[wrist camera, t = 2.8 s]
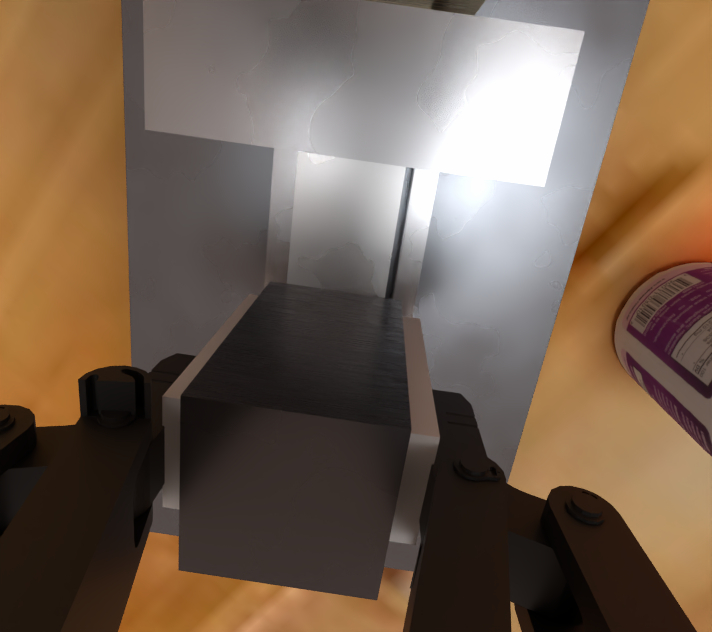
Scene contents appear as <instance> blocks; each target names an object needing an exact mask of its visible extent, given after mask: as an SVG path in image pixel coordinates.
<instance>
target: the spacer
mask: <svg viewBox="0 0 712 632" xmlns="http://www.w3.org/2000/svg"><path fill="white" fill-rule="evenodd" d="M367 1H374V2H381V3H388V4H395V5H402V6H409V7H417V8H424V9H431V10H438V11H445V12H452V13H459V14H466V15H475V14H476V12H477V11H478V10H479V8H480V7H481V6H482V4H483V3H484V2H485V0H367Z"/></svg>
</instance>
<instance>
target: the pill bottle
mask: <svg viewBox="0 0 712 632" xmlns="http://www.w3.org/2000/svg"><path fill="white" fill-rule="evenodd" d="M614 340H615V348H616V352H617V355H618V358H619V360H620V362H621V364H622V366H623V367H624V369H625V370H626V371H627V373H628V374H629V375H630V376H631V377H632V378H633V379H634V380H635V381H636V382H637V383H638V384H639V385H640V386H641V387H642V388H643V389H644V390H645V391H646V392H647V393H648V394H649V395H650V396H651V397H652V398H653V399H654V400H655V401H656V402H657V403H658V404H659V405H660V406H661V407H662V408H663V409H664V410H665V411H666V412H667V413H668V414H669V415H670V416H671V417H672V418H673V419H674V420H675V421H676V422H677V423H678V424H679V425H680V426H681V427H682V428H683V429H684V430H685V431H686V432H687V433H688V434H689V435H690V436H691V437H692V438H693V439H694V440H695V441H696V442H697V443H698V444H699V445H700V446H701V447H702V448H703V449H704V450H705V451H706V452H707V453H709V454H710V455H711V456H712V263H709V262H703V263H688V264H683V265H679V266H675V267H673V268H670V269H668V270H666V271H663V272H659V273H657V274H656V275H654V276H653V277H651V278H650V279H648V280H647V281H646V282H645V283H643V284H642V285H641V286H640V287H639V288H638V289H637V290H636V291H634V293H633V294H632V295H631V297H630V298H629V300H628V301H627V303H626V304H625V306H624V308H623V309H622V311H621V313H620V315H619V318H618V320H617V322H616V328H615V339H614Z"/></svg>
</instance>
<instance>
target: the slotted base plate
mask: <svg viewBox="0 0 712 632" xmlns="http://www.w3.org/2000/svg"><path fill="white" fill-rule="evenodd" d="M649 1H650V0H485V2H484V3H483V4H482V6H481V7H480V8H479V10H478V11H477V12H476V14H475V15H466V14H459V13H452V12H445V11H438V10H431V9H424V8H417V7H409V6H402V5H395V4H388V3H381V2H374V1H367V0H121V4H122V40H123V75H124V111H125V146H126V182H127V217H128V252H129V288H130V323H131V359H132V367H137V368H139V369H142V370H144V371H146V372H147V373H149V372H151V370H152V369H153V368H154V367H155V366H156V365H157V364H158V363H159V362H160V361H161V360H163V359H165V358H167V357H169V356H172V355H174V354H176V353H180V354H187V355H194V356H197V355H198V354H199V352H200V351H201V350H202V349H203V348H204V347H205V345H206V344H207V343H208V342H209V341H210V339H211V338H212V337H213V336H214V335H215V334H216V332H217V331H218V330H219V329H220V328H221V326H222V325H223V324H224V323H225V322H226V321H227V319H228V318H229V317H230V316H231V315H232V314H233V312H234V311H235V310H236V309H237V308H238V306H239V305H240V304H241V303H242V302H243V301H244V299H245V298H246V297H247V296H248V295H249V294H254V295H260V293H261V292H262V291H263V290H264V288H265V287H266V286H267V285H268V283H269V282H270V281H274V282H281V283H287V273H288V262H289V250H290V239H291V227H292V216H293V205H294V193H295V182H296V171H297V159H298V152H305V153H312V154H319V155H326V156H332V157H339V158H346V159H353V160H360V161H367V162H374V163H381V164H388V165H395V166H402V167H406V170H405V176H404V182H403V188H402V195H401V201H400V207H399V213H398V219H397V225H396V232H395V238H394V244H393V250H392V256H391V262H390V269H389V275H388V281H387V287H386V293H385V298H390V299H397V300H401V304H402V316H405V317H412V318H419V319H420V322H421V328H422V334H423V340H424V346H425V352H426V358H427V363H428V369H429V375H430V381H431V387H432V389H434V390H440V391H447V392H454V393H461V394H462V395H463V396H464V398H465V399H466V400H467V401H468V402H469V403H470V404H471V405H472V408H473V411H474V415H475V419H476V421H477V425H478V428H479V431H480V434H481V438H482V441H483V444H484V447H485V451H486V454H487V457H488V458H489V459H491V460H492V461H494V462H496V463H497V464H498V466H499V467H500V468H501V469H502V470H503V471H504V474H505V477H506V483H507V482H508V479H509V476H510V472H511V469H512V465H513V462H514V459H515V455H516V452H517V449H518V445H519V442H520V438H521V435H522V432H523V428H524V425H525V421H526V418H527V415H528V411H529V408H530V404H531V401H532V398H533V394H534V391H535V387H536V384H537V381H538V377H539V374H540V371H541V367H542V364H543V360H544V357H545V354H546V350H547V347H548V343H549V340H550V337H551V333H552V330H553V326H554V323H555V320H556V316H557V313H558V309H559V306H560V303H561V299H562V296H563V293H564V289H565V286H566V282H567V279H568V276H569V272H570V269H571V265H572V262H573V259H574V255H575V252H576V248H577V245H578V242H579V238H580V235H581V231H582V228H583V225H584V221H585V218H586V215H587V211H588V208H589V204H590V201H591V198H592V194H593V191H594V187H595V184H596V181H597V177H598V174H599V170H600V167H601V164H602V160H603V157H604V153H605V150H606V147H607V143H608V140H609V137H610V133H611V130H612V126H613V123H614V120H615V116H616V113H617V109H618V106H619V103H620V99H621V96H622V92H623V89H624V86H625V82H626V79H627V76H628V72H629V69H630V65H631V62H632V59H633V55H634V52H635V48H636V45H637V42H638V38H639V35H640V31H641V28H642V25H643V21H644V18H645V14H646V11H647V8H648V4H649ZM149 532H156V533H162V534H169V535H176V536H179V509H172V508H165V507H163V487H162V488H161V490H160V492H159V493H158V495H157V496H156V498H155V499H154V501H153V522H152V525H151V528H150V531H149ZM420 543H421V536H420V528H419V532H418V537H417V541H416V545H411V544H405V543H398V542H392V541H389V544H388V549H387V554H386V559H385V564H384V567H388V568H394V569H401V570H408V571H414V569H415V564H416V560H417V556H418V551H419V547H420Z"/></svg>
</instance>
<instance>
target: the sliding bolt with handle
mask: <svg viewBox="0 0 712 632" xmlns="http://www.w3.org/2000/svg"><path fill="white" fill-rule="evenodd" d="M405 170H406V167H402V166H395V165H388V164H381V163H374V162H367V161H360V160H353V159H346V158H339V157H332V156H326V155H319V154H312V153H305V152H298V159H297V171H296V182H295V193H294V205H293V216H292V227H291V239H290V250H289V262H288V273H287V283H281V282H274V281H270V282H269V283H268V285H267V286H266V287H265V288H264V290H263V291H262V292H261V293H260V295H259V296H258V297H257V299H256V300H255V301H254V302H253V304H252V305H251V306H250V307H249V309H248V310H247V311H246V313H245V314H244V315H243V316H242V318H241V319H240V320H239V322H238V323H237V324H236V325H235V327H234V328H233V329H232V330H231V332H230V333H229V334H228V336H227V337H226V338H225V339H224V341H223V342H222V343H221V344H220V346H219V347H218V348H217V350H216V351H215V352H214V353H213V355H212V356H211V357H210V359H209V360H208V361H207V362H206V364H205V365H204V366H203V367H202V369H201V370H200V371H199V373H198V374H197V375H196V376H195V378H194V379H193V380H192V381H191V383H190V384H189V385H188V387H187V388H186V389H185V390H184V392H183V393H182V394H181V396H180V487H179V570H181V571H187V572H194V573H200V574H207V575H214V576H220V577H227V578H233V579H240V580H247V581H253V582H260V583H266V584H273V585H280V586H286V587H293V588H299V589H306V590H313V591H319V592H326V593H332V594H339V595H346V596H352V597H359V598H365V599H372V600H377V598H378V593H379V588H380V583H381V578H382V573H383V569H384V564H385V559H386V554H387V549H388V544H389V539H390V534H391V529H392V524H393V519H394V514H395V509H396V504H397V499H398V494H399V489H400V485H401V480H402V475H403V470H404V465H405V460H406V455H407V450H408V445H409V440H410V435H411V430H412V429H411V416H410V404H409V392H408V379H407V367H406V354H405V342H404V329H403V317H402V304H401V300H397V299H390V298H385V293H386V287H387V281H388V275H389V269H390V262H391V256H392V250H393V244H394V238H395V232H396V225H397V219H398V213H399V207H400V201H401V195H402V188H403V182H404V176H405Z"/></svg>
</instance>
